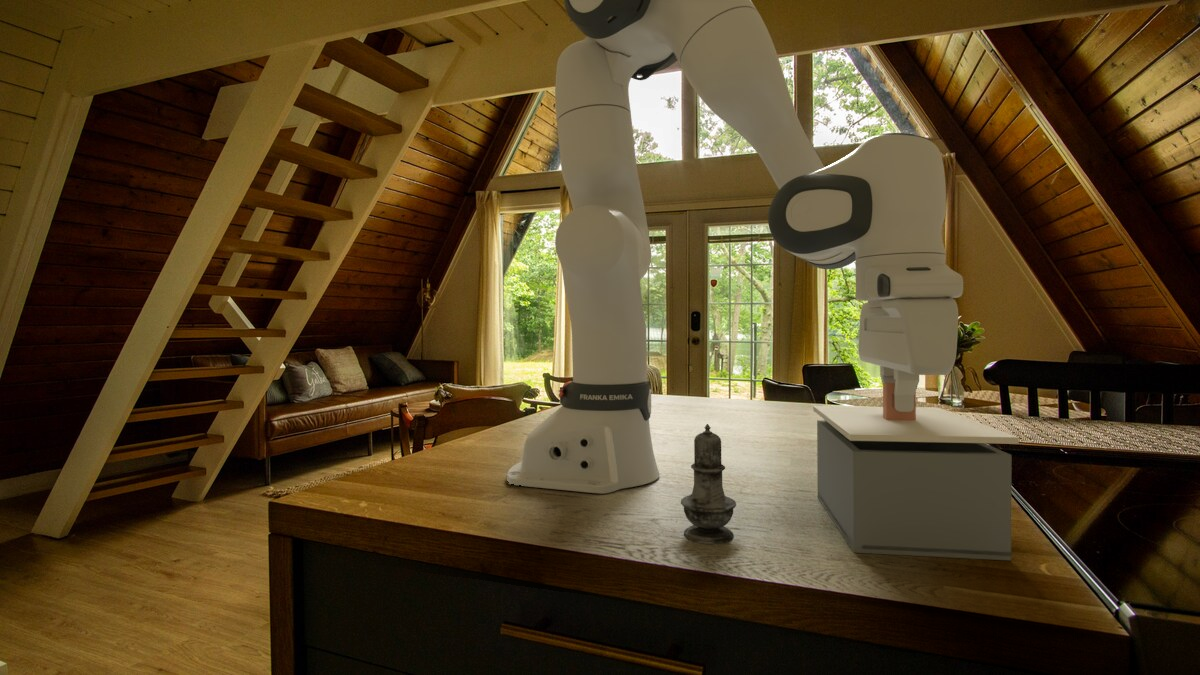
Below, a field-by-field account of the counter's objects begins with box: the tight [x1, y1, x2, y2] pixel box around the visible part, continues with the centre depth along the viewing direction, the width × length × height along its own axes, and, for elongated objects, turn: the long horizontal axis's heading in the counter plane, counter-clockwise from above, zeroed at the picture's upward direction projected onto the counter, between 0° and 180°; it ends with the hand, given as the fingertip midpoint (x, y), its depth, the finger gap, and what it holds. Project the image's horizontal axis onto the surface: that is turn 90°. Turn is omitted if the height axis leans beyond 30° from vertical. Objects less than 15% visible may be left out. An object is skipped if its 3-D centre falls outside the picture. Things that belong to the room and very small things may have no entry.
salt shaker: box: [680, 423, 737, 545], centre depth 62 cm, size 6×6×12 cm
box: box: [816, 419, 1013, 561], centre depth 65 cm, size 14×18×10 cm
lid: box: [812, 383, 1020, 445], centre depth 64 cm, size 15×19×5 cm
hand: (898, 409), depth 64 cm, fingers closed on lid
